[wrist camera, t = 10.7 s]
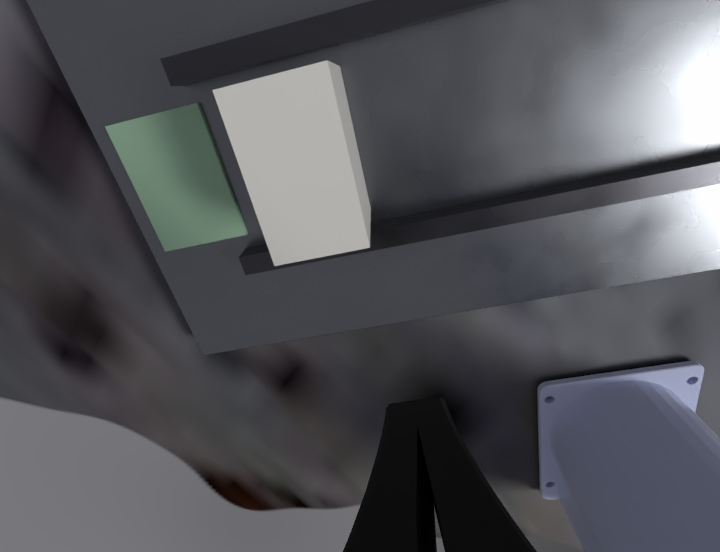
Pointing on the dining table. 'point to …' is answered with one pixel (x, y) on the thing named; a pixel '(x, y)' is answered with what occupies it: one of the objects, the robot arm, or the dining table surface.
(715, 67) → the breaker panel
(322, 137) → the switch handle
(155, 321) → the dining table surface
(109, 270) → the dining table surface
